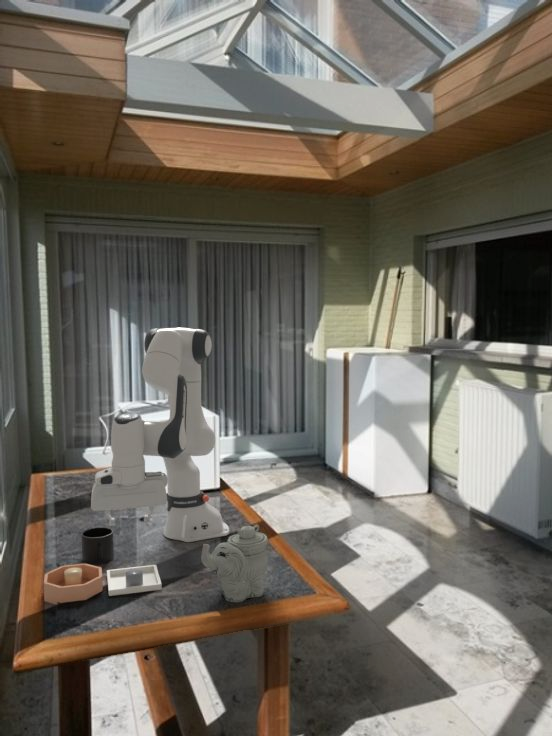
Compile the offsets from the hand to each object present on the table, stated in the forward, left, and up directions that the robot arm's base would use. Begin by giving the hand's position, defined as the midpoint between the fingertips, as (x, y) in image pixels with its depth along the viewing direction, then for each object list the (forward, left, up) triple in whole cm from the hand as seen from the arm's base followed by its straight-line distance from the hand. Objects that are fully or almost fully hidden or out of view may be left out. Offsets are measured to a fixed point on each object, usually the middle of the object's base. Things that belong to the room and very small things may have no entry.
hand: (129, 523), depth 177 cm
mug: (+8, -23, -19) cm, 31 cm away
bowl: (+15, -3, -19) cm, 24 cm away
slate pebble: (-1, 0, -18) cm, 18 cm away
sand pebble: (+15, -6, -18) cm, 24 cm away
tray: (-1, -3, -19) cm, 19 cm away
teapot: (-27, +11, -19) cm, 35 cm away
